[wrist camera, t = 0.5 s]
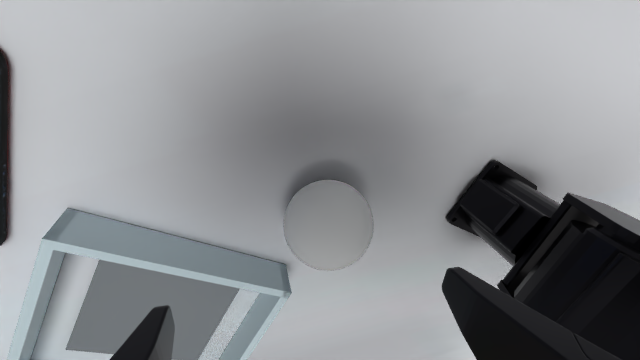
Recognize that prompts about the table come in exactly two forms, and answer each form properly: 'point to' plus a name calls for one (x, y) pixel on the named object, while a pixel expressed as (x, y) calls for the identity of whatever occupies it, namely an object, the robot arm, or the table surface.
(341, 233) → the ball
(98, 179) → the table surface
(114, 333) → the pad
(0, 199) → the handheld game console
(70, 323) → the table surface
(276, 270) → the light blue tray
